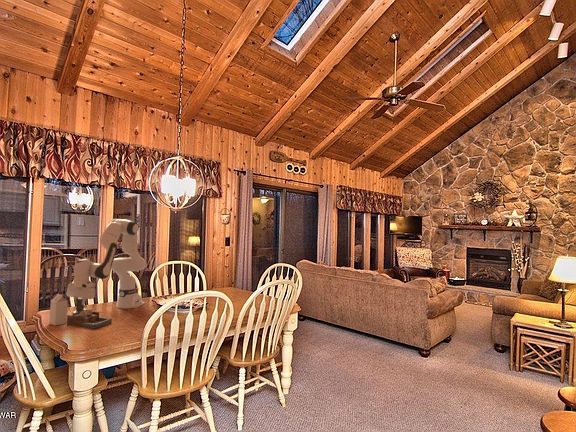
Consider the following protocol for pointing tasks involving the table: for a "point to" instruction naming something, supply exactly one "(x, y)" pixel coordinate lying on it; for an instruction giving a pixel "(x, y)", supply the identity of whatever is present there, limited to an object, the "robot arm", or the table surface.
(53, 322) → the milk carton
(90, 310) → the birch ball
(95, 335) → the table surface
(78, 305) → the scraper
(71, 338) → the table surface
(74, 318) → the channel block
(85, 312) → the birch ball
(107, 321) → the tray
